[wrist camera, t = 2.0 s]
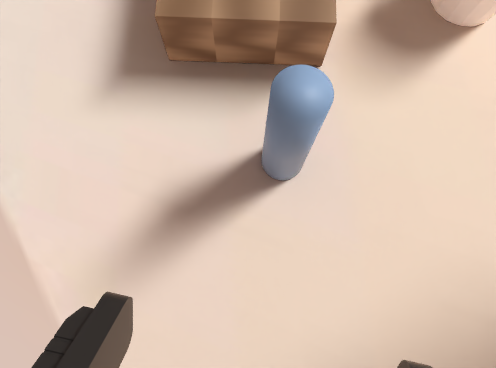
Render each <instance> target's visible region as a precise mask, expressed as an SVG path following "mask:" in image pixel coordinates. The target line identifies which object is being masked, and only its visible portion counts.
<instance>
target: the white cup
mask: <svg viewBox="0 0 496 368" xmlns="http://www.w3.org/2000/svg"><path fill="white" fill-rule="evenodd" d="M430 1H431V3H432V5H433V7H434V9H435V10H436V12H437V13H438V14H439V15H441V16H442V17H443V18H444V19H445V20H446V21H449V22H451V23H454V24H456V25H459V26H471V27H473V26H476V25H480V24H483V23H485V22H486V21H488V20H489V19H490V18H491V17H492V16H493V15H494V14H496V0H430Z"/></svg>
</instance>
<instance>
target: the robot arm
mask: <svg viewBox="0 0 496 368" xmlns="http://www.w3.org/2000/svg"><path fill="white" fill-rule="evenodd" d="M132 331H133V300H132V297H128V296H124V295H120V294H115V293H111V292H106V293H105V294H104V295H103V296H102V297H101V299H100V300H99V302H98V304H97V305H96V307H95V308H94V309H93V308H89V307H84V306H83V307H82V308H80V309H79V310H77V311H76V312H75V313H73V314H72V315H71V316H69V317H68V318H67V319H66V320H65V321H64V323H63V324H62V326H61V327H60V328H59V330H58V331H57V333H56V334H55V336H54V338H53V339H52V340H51V341H50V343H49V344H48V345H47V347H46V348H45V351H44V353H42V354H41V355H40V357H39V358H38V359H37V361H36V362H35V364H34V365H33V366H32V368H119V366H120V364H121V362H122V360H123V358H124V356H125V354H126V352H127V350H128V347H129V344H130V341H131V337H132ZM397 368H432V367H431V366H428V365H424V364H419V363H415V362H411V361H406V360H403V361H401V362H400V364H399V366H398V367H397Z"/></svg>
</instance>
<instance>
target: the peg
mask: <svg viewBox="0 0 496 368" xmlns="http://www.w3.org/2000/svg"><path fill="white" fill-rule="evenodd" d="M333 98H334V90H333V86H332V83H331V81H330V80H329V78H328V77H327V76H326V75H325V74H324V73H323V72H322V71H321V70H319V69H317V68H315V67H312V66H309V65H293V66H289V67H287V68H285V69H283V70H282V71H280V72H279V73H278V74H277V76H276V77H275V78H274V80H273V82H272V85H271V91H270V99H269V106H268V114H267V121H266V129H265V137H264V144H263V152H262V166H263V169H264V170H265V172H266V173H267V174H268V175H269V176H270V177H272V178H274V179H277V180H288V179H291V178H293V177H295V176H296V175H297V174H298V173H299V171H300V170H301V168H302V165H303V163H304V161H305V159H306V157H307V155H308V153H309V151H310V149H311V147H312V145H313V143H314V140H315V138H316V136H317V134H318V132H319V130H320V128H321V126H322V124H323V122H324V120H325V117H326V115H327V113H328V111H329V109H330V107H331V105H332V102H333Z"/></svg>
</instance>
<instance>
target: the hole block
mask: <svg viewBox="0 0 496 368" xmlns="http://www.w3.org/2000/svg"><path fill="white" fill-rule="evenodd" d="M155 18H156V21H157V24H158V27H159V30H160V33H161V36H162V39H163V42H164V45H165V48H166V51H167V54H168V57H169V60H179V61H205V62H231V63H258V64H284V65H311V66H322V63H323V60H324V57H325V54H326V51H327V48H328V46H329V43H330V40H331V37H332V34H333V31H334V28H335V26H336V0H157V1H156V9H155Z"/></svg>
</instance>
